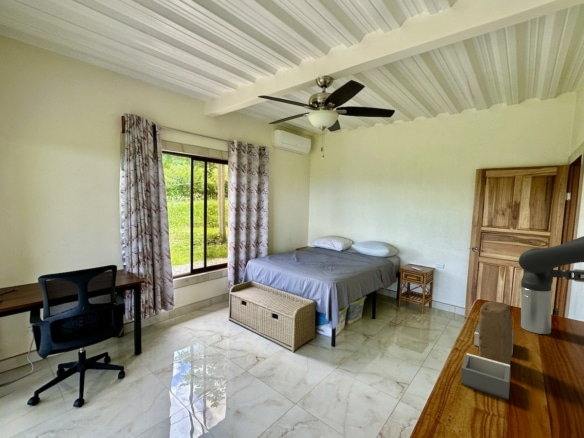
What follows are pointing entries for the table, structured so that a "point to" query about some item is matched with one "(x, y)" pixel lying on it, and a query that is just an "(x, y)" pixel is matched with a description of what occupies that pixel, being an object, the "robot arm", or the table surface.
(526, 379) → the table surface
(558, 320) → the table surface
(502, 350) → the block
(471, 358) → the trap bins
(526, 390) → the table surface
